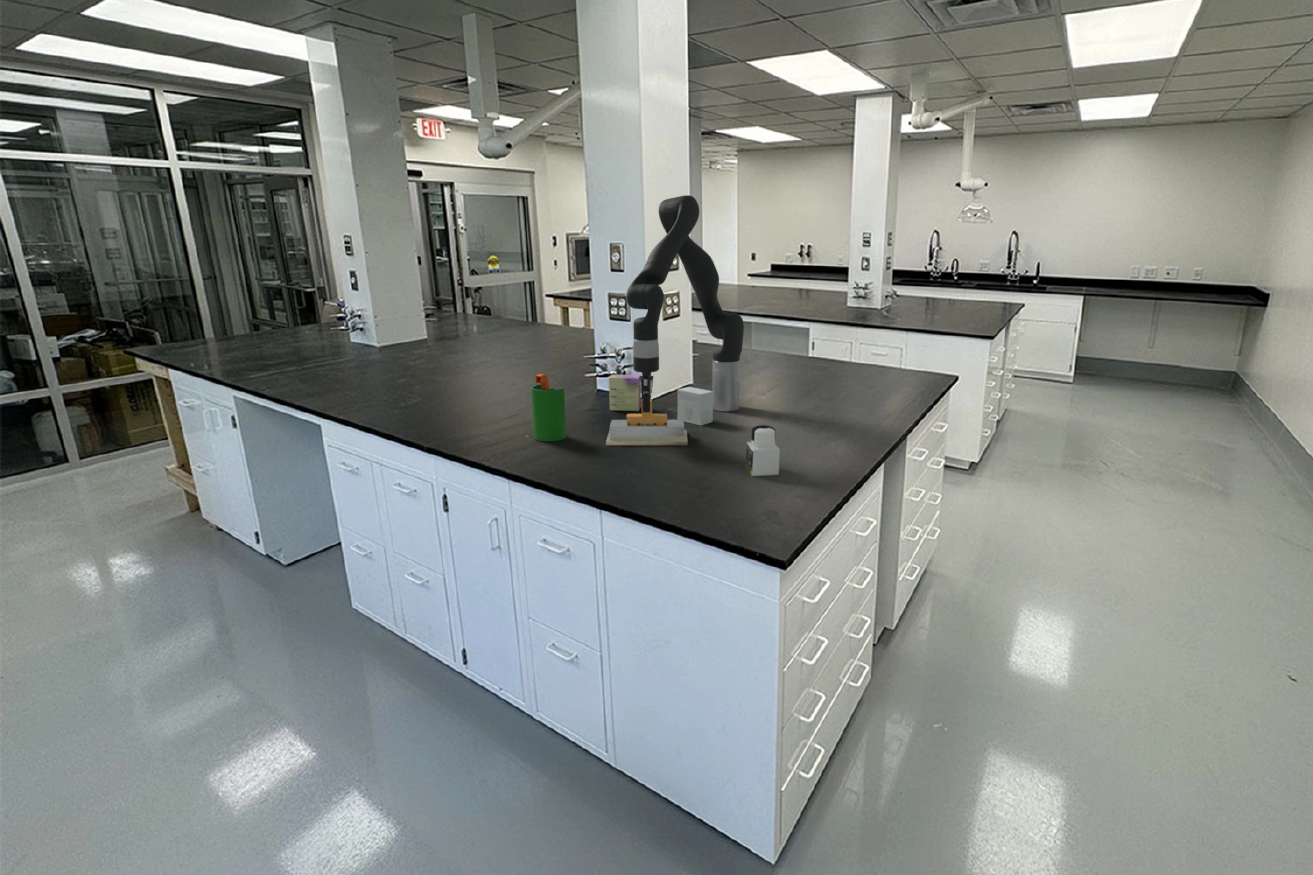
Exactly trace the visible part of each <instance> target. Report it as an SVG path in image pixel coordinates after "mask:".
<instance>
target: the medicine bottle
mask: <svg viewBox="0 0 1313 875" xmlns="http://www.w3.org/2000/svg"><path fill="white" fill-rule="evenodd" d="M776 432H777V431H776V428H774V427H773V426H771V425H766V424H764V425H763V424H761V425H760V424H759V425H756V426H754V427H752V428H751V441H747V442H746V450H745V451H746V452H745V453H746V454H745V455H746V456H745V458H746V459H745V466H746V469H747V470H748V472H749V473H750V476H751V477H760V476H761V477H762V476H763V477H764V476H765V477H766V476H778V475H779V473H780V453H781V449H780V448H779V446H778V445H776Z"/></svg>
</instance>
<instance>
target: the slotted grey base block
mask: <svg viewBox="0 0 1313 875" xmlns="http://www.w3.org/2000/svg"><path fill="white" fill-rule="evenodd" d="M609 424H610V425H609V431H608V434H607V438H606V440H605V446H688V445H689V444H688V443H689V442H688V430H687V429H685V422H684V420H677V419H667V423H664V424H665V425H656V423H638V425H629V423H627V419H611V422H610V423H609Z"/></svg>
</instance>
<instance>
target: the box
mask: <svg viewBox="0 0 1313 875" xmlns="http://www.w3.org/2000/svg"><path fill="white" fill-rule="evenodd" d="M640 376H641V375H640V374H610V376H609V377H608V388H609V389H608V391H609V392H608V396H609V411H623V412H639V411H640V409H641V408H642V399H641V397H642V396H641V392H640Z"/></svg>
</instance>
